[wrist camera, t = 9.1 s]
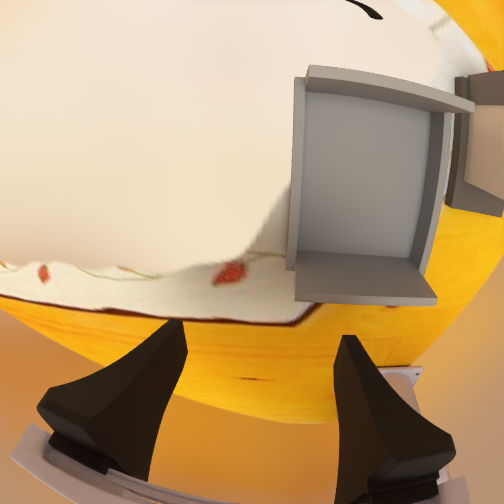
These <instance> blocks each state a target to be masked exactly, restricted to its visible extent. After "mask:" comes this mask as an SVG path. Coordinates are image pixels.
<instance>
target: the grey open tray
mask: <svg viewBox="0 0 504 504" xmlns="http://www.w3.org/2000/svg"><path fill="white" fill-rule="evenodd" d="M452 113H475V103H474V102H472V101H469V100H466V99H464V98H461V97H458V96H456V95H453V94H450V93H447V92H444V91H441V90H438V89H435V88H431V87H428V86H425V85H421V84H418V83H414V82H410V81H406V80H402V79H398V78H394V77H389V76H385V75H380V74H375V73H369V72H364V71H358V70H351V69H344V68H337V67H328V66H318V65H309V67H308V70H307V74H306V77H304V78H303V77H295V79H294V117H293V148H292V172H291V191H290V209H289V225H288V240H287V255H286V270H291V271H295V301H300V302H317V303H335V304H358V305H389V306H435V304H436V301H437V299H438V298H437V296H436V295H435V293H434V292H433V290H432V289H431V287H430V286H429V284H428V283H427V282H426V280H425V279H424V274H425V271H426V267H427V264H428V260H429V257H430V253H431V249H432V246H433V242H434V238H435V233H436V229H437V225H438V220H439V215H440V210H441V205H442V200H443V194H444V188H445V181H446V174H447V167H448V158H449V149H450V136H451V119H452Z"/></svg>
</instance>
